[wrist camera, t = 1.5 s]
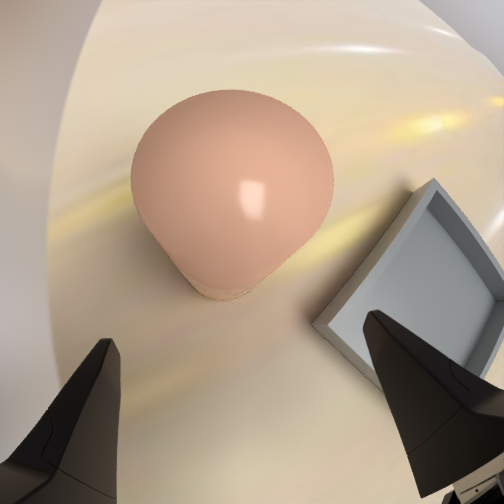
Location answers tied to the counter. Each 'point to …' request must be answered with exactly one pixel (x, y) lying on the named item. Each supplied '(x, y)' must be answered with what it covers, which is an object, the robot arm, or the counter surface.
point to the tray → (424, 287)
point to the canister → (231, 187)
